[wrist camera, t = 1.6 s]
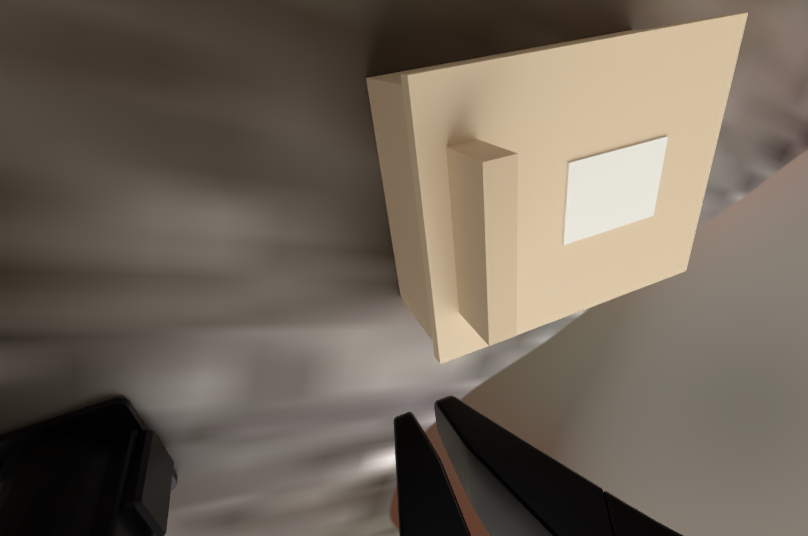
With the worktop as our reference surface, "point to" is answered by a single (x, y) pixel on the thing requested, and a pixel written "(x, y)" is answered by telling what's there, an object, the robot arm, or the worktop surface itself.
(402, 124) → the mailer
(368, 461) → the worktop surface
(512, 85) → the lid
